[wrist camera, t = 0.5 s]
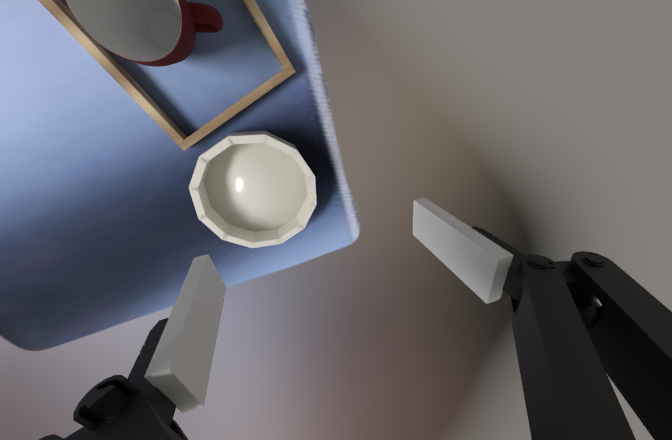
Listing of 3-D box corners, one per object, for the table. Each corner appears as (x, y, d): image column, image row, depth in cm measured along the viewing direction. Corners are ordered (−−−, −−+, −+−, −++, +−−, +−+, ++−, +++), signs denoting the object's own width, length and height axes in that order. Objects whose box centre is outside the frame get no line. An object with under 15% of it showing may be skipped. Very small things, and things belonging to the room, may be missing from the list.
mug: (210, -24, 26) (182, -84, 18) (239, 61, 30) (228, 47, 22) (108, -7, 25) (25, -63, 16) (153, 80, 29) (105, 72, 20)
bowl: (171, 174, 34) (159, 184, 30) (268, 106, 33) (268, 107, 29) (251, 250, 43) (250, 264, 39) (329, 197, 42) (336, 207, 38)
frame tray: (19, -30, 23) (-1, -40, 21) (168, -146, 22) (160, -166, 20) (188, 148, 33) (183, 150, 31) (294, 73, 32) (295, 71, 30)
